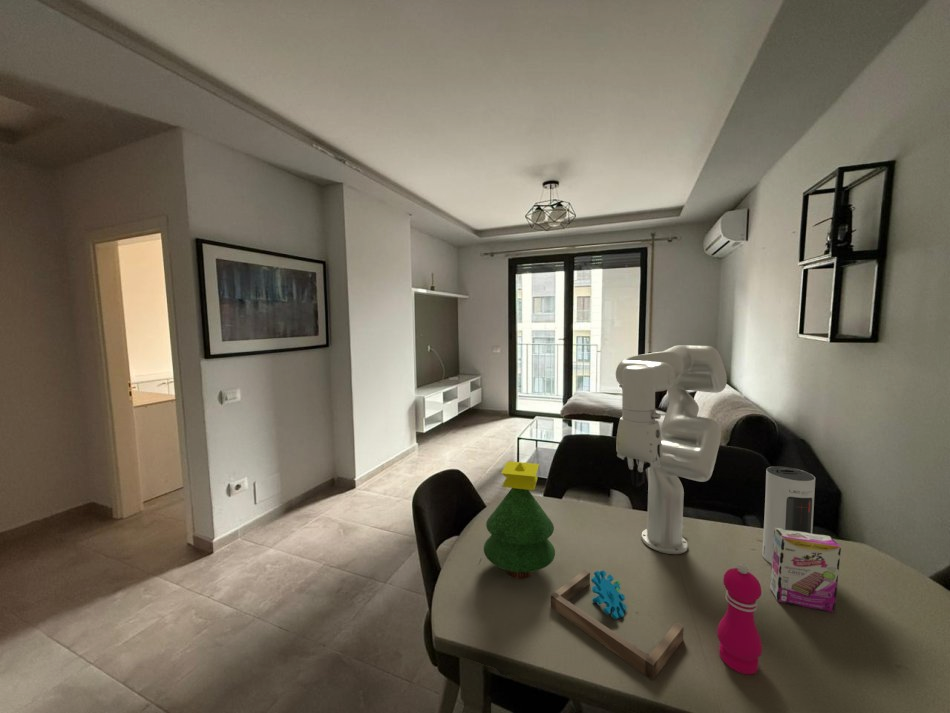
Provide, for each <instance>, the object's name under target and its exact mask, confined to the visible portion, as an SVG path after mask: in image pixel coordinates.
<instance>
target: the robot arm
mask: <svg viewBox="0 0 950 713" xmlns="http://www.w3.org/2000/svg"><path fill="white" fill-rule="evenodd" d="M724 365H725V364H724V362H723V359H722V356H721V355H720V352H719V351H718V350H717V349H716V348H715V347H713V346H711V345H694V344H693V345H692V344H691V345H689V344H687V345H686V344H683V345H682V344H680V345H674V346H672V347H669V348H667V349H665V350H663V351H656V352H649V353H643V354H638V355H632V356H629V357H625V358H624V359H622V360H621V361H620V362H619V363H618V365H617V367H616V369H615V378H616V382H617V383H618V384H619V386H621V387H622V388H621V389H622V390H621V391H622V393H621V394H622V395H621V396H622V397H621V398H622V400H621V402H622V405H621V406H622V407H621V412H622V415H621V417H620V418H619V419H618V420H619V422H618V426H617V433H616V441H615V442H616V443H615V444H616V448H615V449H616V453H617V454H616V456H617V458H619V459H621V460H623V461H625V463H626V464H627V466H628V469H629V470H630V480H631V485H632V486H635V487H640V486H642V485H643V484H644V483H645V482H646V470H647V473H648V476H647V477H648V478H647V479H648V480H647V481H648V490H647V492H648V493H647V516H646V517H647V521H646V528H645V529H644V530H642V532H641V540H642V542H643V543H644V544H645V545H646V546H647V547H649V548H650V549H652V550H654V551H657V552H660V553H661V554H662V553H663V554H667V555H668V554H669V555H680V554H684V553H685V552H687V550H688V541H687V540H686V539H685V538H684V537H683V529H684V527H685V524H684V522H683V520H684V519H683V517H684V514H683V513H684V498H685V497H684V496H685V495H684V494H685V492H684V487H683V484H682V482H681V480H680V478H684V479H688V480H690V481H691V480H692V481H696V482H700V483H701V482H703V483H704V482H707V481H709V480H710V479H711V477H712V475H713V471H714V469H715V464H716V462H717V456H718V453H719V452H718V451H719V448H720V445H721V439H722V438H721V437H722V430H721V429H722V428H721V426H720V424H719V422H718V421H716V420H715V419H713V418H709V417H705V416H698V414H699V410H700V406H699V404H698V403H697V401H696V400H695V399H694V397H693V396H692V395H691V394H689V392H688V391H693V392H703V393H711V394H712V393H713V394H714V393H715V394H717V393H721V392H722V391H724V390H725V388H726V386H727V383H728V382H727V381H728V377H727V372H726V369H725V366H724ZM664 391H667V394H668V395H667V396H668V400H669V401H668V402H669V404H668V407H667V409H666V411H665V415H664V417H663V420H662V424H661V427H660V422H659V421H658V420H660V419H661V416H662V415H661V413H658V412H657V409H656V393H657V392H664ZM679 477H680V478H679Z"/></svg>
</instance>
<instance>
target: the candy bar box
mask: <svg viewBox="0 0 950 713" xmlns="http://www.w3.org/2000/svg"><path fill="white" fill-rule="evenodd" d="M841 553H842V546H841V545H840V544H839V543H837V541H835V540H834V539H833V538H832V537H831V536H830V535H825V534H820V533H819V534H818V533H814V532H812V533H806V532H799V531H793V530H786V529H780V528H775V530H774V542H773V554H772V564H771V568H770V571H771V572H770V579H769V580H770V583H769V590H770V591H771V593H772V595H773V596H774V598H775V600H776V601H777V602H778V603H784V604H790V605H793V606H794V605H795V606H799V607H804V608H809V609H815V610H817V611H818V610H819V611H825V612H828V613H835V611H836V601H837V592H838V591H837V590H838V583H839V582H838V579H839V571H840V562H841V561H840V560H841Z"/></svg>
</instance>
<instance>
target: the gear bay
mask: <svg viewBox="0 0 950 713" xmlns="http://www.w3.org/2000/svg"><path fill="white" fill-rule="evenodd" d="M590 584H591V572H589V571H588V570H587V569H584V570H583V571H581V572H580V573H579V574H577V575H575V577H573V578H572V579H570V580H569V581H567V582H566V583H565V584H564V585H562V586H561V587H560V588H558V589H557V590H556V591H554V592H553V593H552V594H550V608H551V609H553V610H554V611H555V612H557V613H559V614H560V615H561V616H563V617H564V618H565V619H567V620H568V621H570V622H571V623H572V624H573V625H575V626H576V627H578V628H579V629H580V630H582V631H583V632H584V633H586V634H587V635H589V636H590V637H592V638H593V639H595V640H596V641H597V642H598V643H600V644H601V645H603V646H604V647H605V648H606V649H608V650H610V651H611V652H613V653H614V654H615V655H617V656H618V657H620V658H621V659H622V660H624V662H626V663H628V664H629V665H630V666H632V667H634V668H635V669H636V670H638V671H639V672H640V673H642V674H643V675H644V676H646V677H647V678H648V679H650V680H652V681H654V680H655V678H656V677H657V676H658V674H659V673H660V672H661V670H662V669H663V668H664V666H665V665H666V664H667V662H668V661H669V660H670V658H671V657H672V655H673V654H674V653H675V651H676V650H677V649H678V647H679V645H680V644H681V643H682V642H683V640H684V629H685V628H684V625H683V624H680V623H679V622H675V623H674V624H673V625H672V627H671V628H670V629H669V630H668V631H667V633H666V634H665V635H664V636H663V638H662V639H661V640H660V641H659V642H658V644H657V645H656V646H655V648H653V650H652V651H651V652H650V654H647V653H646V652H644V651H643V650H642V649H640V648H639V647H637V646H636V645H634V644H632V643H631V642H629V641H628V640H626V638H624V637H622V636H621V635H619V634H618V633H616V632H615V631H614V630H612V629H610V628H609V627H607V626H606V625H604V624H603V623H601V622H600V621H599V620H597V619H595V618H594V617H592V616H591V615H589V614H588V613H586V611H583V610H582V609H581V608H580V607H578V606H577V605H575V604H573V603H572V602H570V600H572V599H573V598H574V597H575V596H576V595H577V594H579V593H580V592H581V591H583V589H585V588H586V587H587V586H589V585H590Z"/></svg>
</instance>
